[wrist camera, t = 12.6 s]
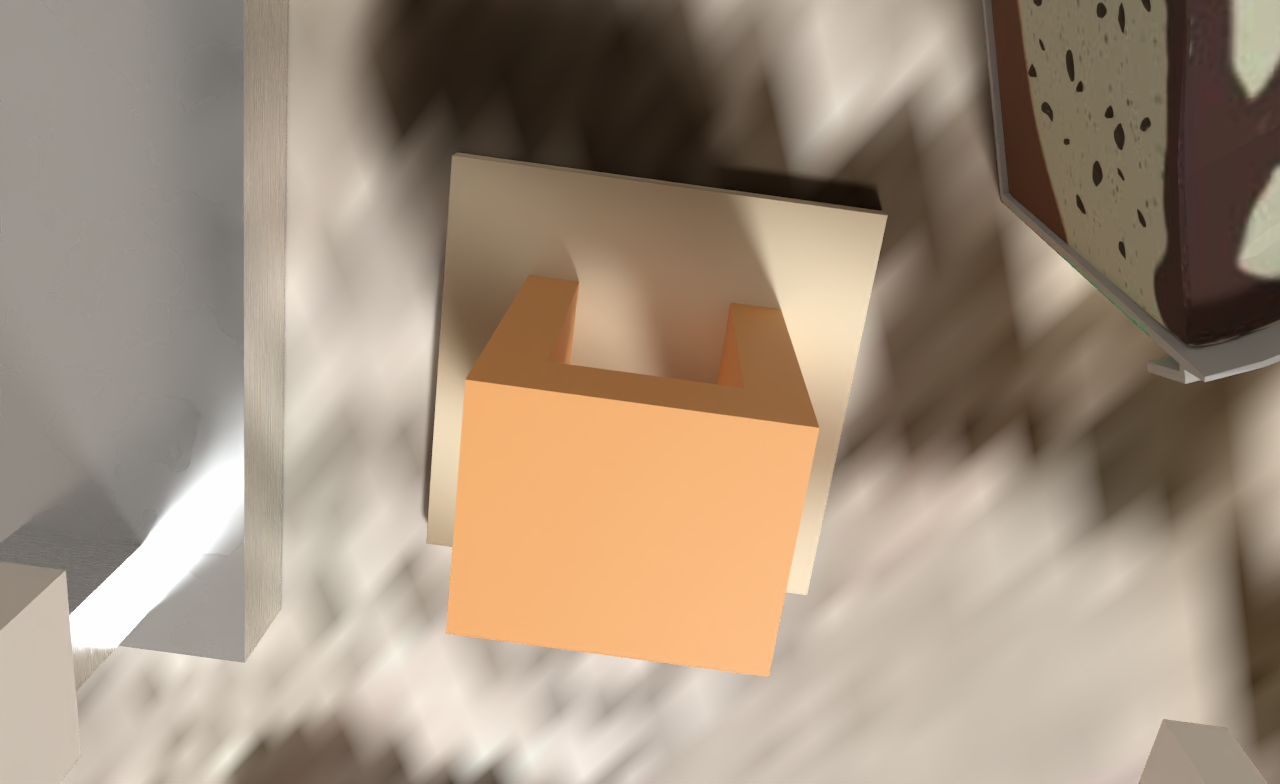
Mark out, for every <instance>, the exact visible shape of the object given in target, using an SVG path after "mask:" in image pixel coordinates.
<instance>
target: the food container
mask: <svg viewBox="0 0 1280 784" xmlns="http://www.w3.org/2000/svg"><path fill="white" fill-rule="evenodd" d="M982 8H983V18H984V29H985V39H986V50H987V60H988V71H989V81H990V92H991V102H992V113H993V123H994V134H995V144H996V155H997V165H998V176H999V186H1000V197H1001V202H1002V203H1003V204H1004V205H1006V206H1007V207H1008V208H1009V209H1010V210H1011V211H1012V212H1013V213H1014V214H1015V215H1017V216H1018V217H1019V218H1020V219H1021V220H1022V221H1023V222H1024V223H1025V224H1026V225H1027V226H1029V227H1030V228H1031V229H1032V230H1033V231H1034V232H1035V233H1036V234H1037V235H1038V236H1040V237H1041V238H1042V239H1043V240H1044V241H1045V242H1046V243H1047V244H1048V245H1049V246H1051V247H1052V248H1053V249H1054V250H1055V251H1056V252H1057V253H1058V254H1059V255H1060V256H1062V257H1063V258H1064V259H1065V260H1066V261H1067V262H1068V263H1069V264H1070V265H1071V266H1072V267H1074V268H1075V269H1076V270H1077V271H1078V272H1079V273H1080V274H1081V275H1082V276H1083V277H1085V278H1086V279H1087V280H1088V281H1089V282H1090V283H1091V284H1092V285H1093V286H1094V287H1096V288H1097V289H1098V290H1099V291H1100V292H1101V293H1102V294H1103V295H1104V296H1105V297H1107V298H1108V299H1109V300H1110V301H1111V302H1112V303H1113V304H1114V305H1115V306H1116V307H1117V308H1119V309H1120V310H1121V311H1122V312H1123V313H1124V314H1125V315H1126V316H1127V317H1128V318H1130V319H1131V320H1132V321H1133V322H1134V323H1135V324H1136V325H1137V326H1138V327H1139V328H1141V329H1142V330H1143V331H1144V332H1145V333H1146V334H1147V335H1148V336H1149V337H1150V338H1152V339H1153V340H1154V341H1155V342H1156V343H1157V344H1158V345H1159V346H1160V347H1161V348H1163V349H1164V350H1165V351H1166V352H1167V353H1168V354H1169V355H1170V356H1168V357H1164V358H1160V359H1156V360H1152V361H1148V362H1146V363H1147V369H1148V372H1150V373H1153V374H1156V375H1159V376H1163V377H1166V378H1169V379H1172V380H1175V381H1178V382H1181V383H1184V384H1186V383H1190V382H1194V381H1198V380H1202V381H1204V382H1207V381H1211V380H1215V379H1219V378H1223V377H1227V376H1231V375H1235V374H1238V373H1242V372H1246V371H1250V370H1254V369H1258V368H1262V367H1265V366H1268V365H1270V364H1273V363H1276V362H1278V361H1280V0H982Z"/></svg>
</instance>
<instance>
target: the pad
mask: <svg viewBox="0 0 1280 784" xmlns="http://www.w3.org/2000/svg"><path fill="white" fill-rule="evenodd" d="M886 221H887V215H886V214H885V213H884V212H883V211H880V210H872V209H865V208H858V207H851V206H843V205H836V204H829V203H822V202H814V201H807V200H800V199H792V198H785V197H778V196H771V195H763V194H756V193H749V192H741V191H734V190H727V189H720V188H712V187H705V186H698V185H691V184H683V183H676V182H669V181H661V180H654V179H647V178H640V177H632V176H625V175H618V174H611V173H603V172H596V171H589V170H581V169H574V168H567V167H560V166H552V165H545V164H538V163H531V162H523V161H516V160H509V159H501V158H494V157H487V156H480V155H472V154H465V153H458V152H457V153H456V154H454V155H452V162H451V177H450V192H449V207H448V222H447V238H446V253H445V268H444V283H443V298H442V313H441V328H440V344H439V359H438V374H437V389H436V404H435V419H434V434H433V449H432V465H431V480H430V495H429V510H428V525H427V540H426V543H427V544H434V545H442V546H449V547H453V535H454V522H455V509H456V496H457V483H458V469H459V456H460V443H461V430H462V417H463V404H464V391H465V379H466V378H467V376H468V374H469V373H470V371H471V369H472V368H473V366H474V365H475V363H476V361H477V360H478V358H479V356H480V355H481V353H482V351H483V350H484V348H485V346H486V345H487V343H488V341H489V340H490V338H491V337H492V335H493V333H494V332H495V330H496V328H497V327H498V325H499V323H500V322H501V320H502V318H503V317H504V315H505V313H506V312H507V310H508V309H509V307H510V305H511V304H512V302H513V300H514V299H515V297H516V295H517V294H518V292H519V290H520V289H521V287H522V285H523V284H524V282H525V281H526V279H527V277H528V276H529V275H533V276H540V277H548V278H555V279H562V280H569V281H577V282H579V290H578V299H577V307H576V316H575V325H574V334H573V343H572V352H571V361H570V365H578V366H585V367H592V368H600V369H607V370H614V371H622V372H629V373H636V374H644V375H651V376H658V377H666V378H673V379H680V380H688V381H695V382H702V383H710V384H717V382H718V376H719V370H720V364H721V358H722V352H723V346H724V340H725V334H726V328H727V322H728V316H729V310H730V304H731V303H737V304H745V305H752V306H759V307H767V308H774V309H781V311H782V314H783V317H784V320H785V323H786V326H787V329H788V332H789V335H790V338H791V342H792V345H793V348H794V351H795V354H796V357H797V360H798V363H799V366H800V369H801V372H802V375H803V378H804V382H805V385H806V388H807V391H808V394H809V397H810V400H811V403H812V406H813V409H814V412H815V415H816V419H817V422H818V425H819V433H818V438H817V443H816V448H815V453H814V458H813V462H812V467H811V472H810V477H809V482H808V487H807V492H806V497H805V502H804V506H803V511H802V516H801V521H800V526H799V531H798V536H797V541H796V546H795V550H794V555H793V560H792V565H791V570H790V575H789V580H788V585H787V590H786V592H789V593H796V594H803V595H807V592H808V587H809V582H810V578H811V573H812V568H813V564H814V559H815V554H816V550H817V545H818V540H819V535H820V531H821V526H822V521H823V517H824V512H825V507H826V503H827V498H828V493H829V488H830V484H831V479H832V474H833V470H834V465H835V460H836V456H837V451H838V446H839V441H840V437H841V432H842V427H843V423H844V418H845V413H846V409H847V404H848V399H849V394H850V390H851V385H852V380H853V376H854V371H855V366H856V362H857V357H858V352H859V347H860V343H861V338H862V333H863V329H864V324H865V319H866V315H867V310H868V305H869V300H870V296H871V291H872V286H873V282H874V277H875V272H876V268H877V263H878V258H879V253H880V249H881V244H882V239H883V235H884V230H885V225H886Z"/></svg>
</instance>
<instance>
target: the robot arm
mask: <svg viewBox="0 0 1280 784" xmlns="http://www.w3.org/2000/svg"><path fill="white" fill-rule="evenodd" d="M80 757H81V747H80V735H79V723H78V711H77V700H76V688H75V676H74V664H73V652H72V640H71V628H70V616H69V604H68V592H67V580H66V570H60V569H52V568H45V567H38V566H30V565H23V564H16V563H8V562H0V784H59V783H60V782H61V781H62V780H63V778H64V777H65V776H66V775H67V773H68V772H69V771H70V770H71V768H72V767H73V766H74V765H75V763H76V762H77V761H78V760H79V758H80ZM1139 784H1268V783H1267V782H1266V781H1265V779H1264V778H1263V776H1262V775H1261V774H1260V772H1259V771H1258V770H1257V768H1256V767H1255V765H1254V764H1253V763H1252V761H1251V760H1250V759H1249V757H1248V756H1247V755H1246V753H1245V752H1244V750H1243V749H1242V748H1241V746H1240V745H1239V744H1238V742H1237V741H1236V739H1235V738H1234V737H1233V735H1232V734H1231V733H1230V731H1229V730H1228V729H1227V728H1225V727H1217V726H1210V725H1202V724H1195V723H1188V722H1180V721H1173V720H1166V719H1163V721H1162V724H1161V726H1160V729H1159V732H1158V734H1157V737H1156V739H1155V742H1154V745H1153V747H1152V750H1151V753H1150V755H1149V758H1148V760H1147V763H1146V766H1145V768H1144V771H1143V773H1142V776H1141V779H1140V781H1139Z"/></svg>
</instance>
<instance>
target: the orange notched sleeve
mask: <svg viewBox="0 0 1280 784" xmlns="http://www.w3.org/2000/svg"><path fill="white" fill-rule="evenodd" d="M578 290H579V282H577V281H569V280H562V279H555V278H548V277H540V276H533V275H529V276H528V277H527V279H526V281H525V282H524V284H523V285H522V287H521V289H520V290H519V292H518V294H517V295H516V297H515V299H514V300H513V302H512V304H511V305H510V307H509V309H508V310H507V312H506V313H505V315H504V317H503V318H502V320H501V322H500V323H499V325H498V327H497V328H496V330H495V332H494V333H493V335H492V337H491V338H490V340H489V341H488V343H487V345H486V346H485V348H484V350H483V351H482V353H481V355H480V356H479V358H478V360H477V361H476V363H475V365H474V366H473V368H472V369H471V371H470V373H469V374H468V376H467V378H466V379H465V391H464V404H463V417H462V430H461V443H460V456H459V469H458V483H457V496H456V509H455V522H454V535H453V548H452V561H451V575H450V588H449V601H448V614H447V627H446V633H447V634H454V635H462V636H469V637H476V638H484V639H491V640H499V641H506V642H513V643H521V644H528V645H536V646H543V647H550V648H558V649H565V650H573V651H580V652H587V653H595V654H602V655H610V656H617V657H624V658H632V659H639V660H647V661H654V662H661V663H669V664H676V665H684V666H691V667H698V668H706V669H713V670H721V671H728V672H735V673H743V674H750V675H758V676H765V677H769V673H770V668H771V663H772V658H773V653H774V648H775V643H776V638H777V634H778V629H779V624H780V619H781V614H782V609H783V604H784V599H785V594H786V590H787V585H788V580H789V575H790V570H791V565H792V560H793V555H794V550H795V546H796V541H797V536H798V531H799V526H800V521H801V516H802V511H803V506H804V502H805V497H806V492H807V487H808V482H809V477H810V472H811V467H812V462H813V458H814V453H815V448H816V443H817V438H818V433H819V425H818V422H817V419H816V415H815V412H814V409H813V406H812V403H811V400H810V397H809V394H808V391H807V388H806V385H805V382H804V378H803V375H802V372H801V369H800V366H799V363H798V360H797V357H796V354H795V351H794V348H793V345H792V342H791V338H790V335H789V332H788V329H787V326H786V323H785V320H784V317H783V314H782V311H781V309H774V308H767V307H759V306H752V305H745V304H737V303H731V304H730V310H729V316H728V322H727V328H726V334H725V340H724V346H723V352H722V358H721V364H720V370H719V376H718V382H717V384H710V383H702V382H695V381H688V380H680V379H673V378H666V377H658V376H651V375H644V374H636V373H629V372H622V371H614V370H607V369H600V368H592V367H585V366H578V365H570V361H571V352H572V343H573V334H574V325H575V316H576V307H577V299H578Z"/></svg>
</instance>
